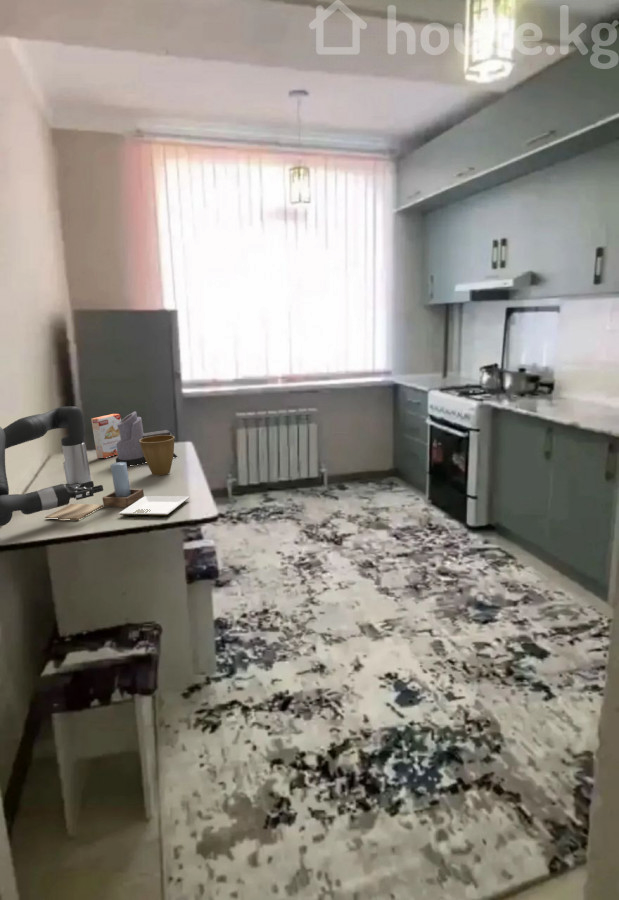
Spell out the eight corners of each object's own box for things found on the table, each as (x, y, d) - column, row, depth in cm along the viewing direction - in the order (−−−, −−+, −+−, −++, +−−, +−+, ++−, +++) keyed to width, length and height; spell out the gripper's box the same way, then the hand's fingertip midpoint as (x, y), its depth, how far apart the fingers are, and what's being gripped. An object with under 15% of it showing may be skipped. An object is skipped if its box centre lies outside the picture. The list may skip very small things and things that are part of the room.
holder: (103, 506, 212) (102, 497, 211) (120, 497, 222) (119, 488, 221) (128, 507, 209) (127, 498, 208) (144, 498, 219) (143, 489, 218)
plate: (190, 501, 212) (190, 495, 212) (168, 519, 194) (167, 513, 194) (145, 500, 216) (144, 495, 216) (118, 518, 199) (118, 513, 198)
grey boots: (115, 469, 267) (107, 417, 261) (112, 462, 281) (104, 413, 276) (179, 458, 278) (172, 409, 273) (173, 452, 293) (166, 405, 287)
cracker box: (104, 459, 287) (98, 418, 283) (96, 458, 291) (90, 418, 286) (126, 452, 299) (120, 413, 294) (118, 452, 302) (112, 413, 297)
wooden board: (45, 519, 202) (44, 517, 202) (71, 506, 215) (71, 503, 215) (78, 521, 198) (78, 518, 198) (103, 507, 211) (102, 504, 211)
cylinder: (113, 504, 214) (107, 466, 210) (122, 499, 219) (116, 462, 215) (126, 504, 212) (120, 466, 209) (135, 500, 217) (129, 462, 214)
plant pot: (149, 480, 243) (144, 444, 239) (140, 473, 255) (135, 438, 252) (183, 473, 250) (178, 438, 246) (173, 467, 263) (168, 433, 259)
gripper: (47, 503, 204) (92, 491, 214) (61, 512, 193) (107, 499, 203) (43, 483, 202) (88, 472, 212) (57, 490, 191) (104, 479, 202)
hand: (97, 485), depth 208 cm, fingers open, 8 cm apart
